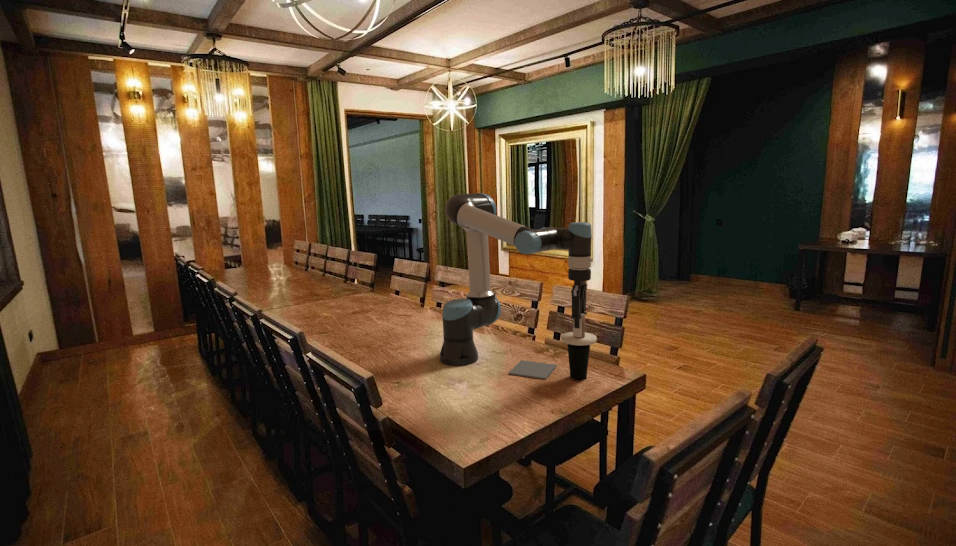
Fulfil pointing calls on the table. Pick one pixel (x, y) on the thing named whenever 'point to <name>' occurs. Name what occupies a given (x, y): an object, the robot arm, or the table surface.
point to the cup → (578, 361)
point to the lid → (583, 340)
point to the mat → (533, 369)
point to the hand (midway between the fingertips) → (578, 334)
